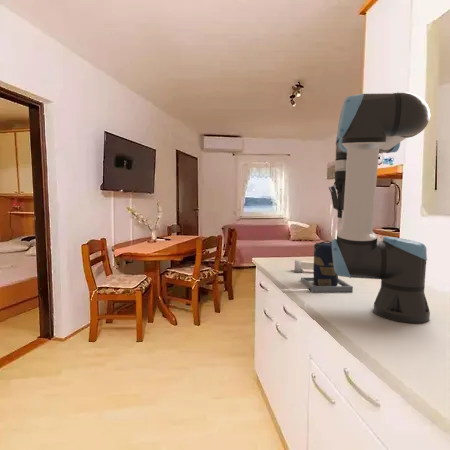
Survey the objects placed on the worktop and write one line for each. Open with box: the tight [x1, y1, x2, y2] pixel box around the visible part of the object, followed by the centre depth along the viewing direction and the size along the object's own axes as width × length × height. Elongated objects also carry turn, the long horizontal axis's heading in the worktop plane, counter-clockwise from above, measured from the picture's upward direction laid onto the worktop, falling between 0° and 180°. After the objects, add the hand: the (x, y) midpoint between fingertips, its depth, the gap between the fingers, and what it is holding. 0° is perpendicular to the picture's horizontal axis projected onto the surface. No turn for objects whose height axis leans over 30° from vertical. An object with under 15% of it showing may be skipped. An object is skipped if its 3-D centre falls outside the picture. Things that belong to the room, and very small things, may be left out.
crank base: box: [290, 269, 307, 274], centre depth 154 cm, size 6×6×1 cm
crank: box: [293, 259, 314, 272], centre depth 153 cm, size 16×4×7 cm, turn 76°
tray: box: [300, 277, 354, 294], centre depth 131 cm, size 15×16×2 cm
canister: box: [312, 240, 339, 286], centre depth 130 cm, size 10×10×18 cm
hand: (341, 225), depth 143 cm, fingers closed
